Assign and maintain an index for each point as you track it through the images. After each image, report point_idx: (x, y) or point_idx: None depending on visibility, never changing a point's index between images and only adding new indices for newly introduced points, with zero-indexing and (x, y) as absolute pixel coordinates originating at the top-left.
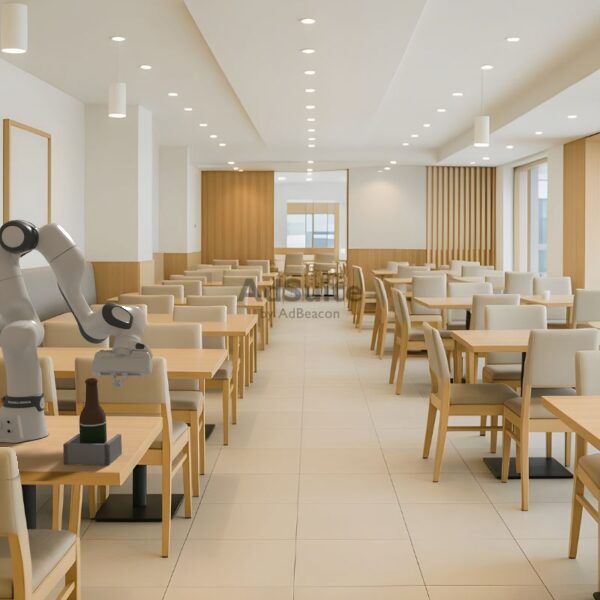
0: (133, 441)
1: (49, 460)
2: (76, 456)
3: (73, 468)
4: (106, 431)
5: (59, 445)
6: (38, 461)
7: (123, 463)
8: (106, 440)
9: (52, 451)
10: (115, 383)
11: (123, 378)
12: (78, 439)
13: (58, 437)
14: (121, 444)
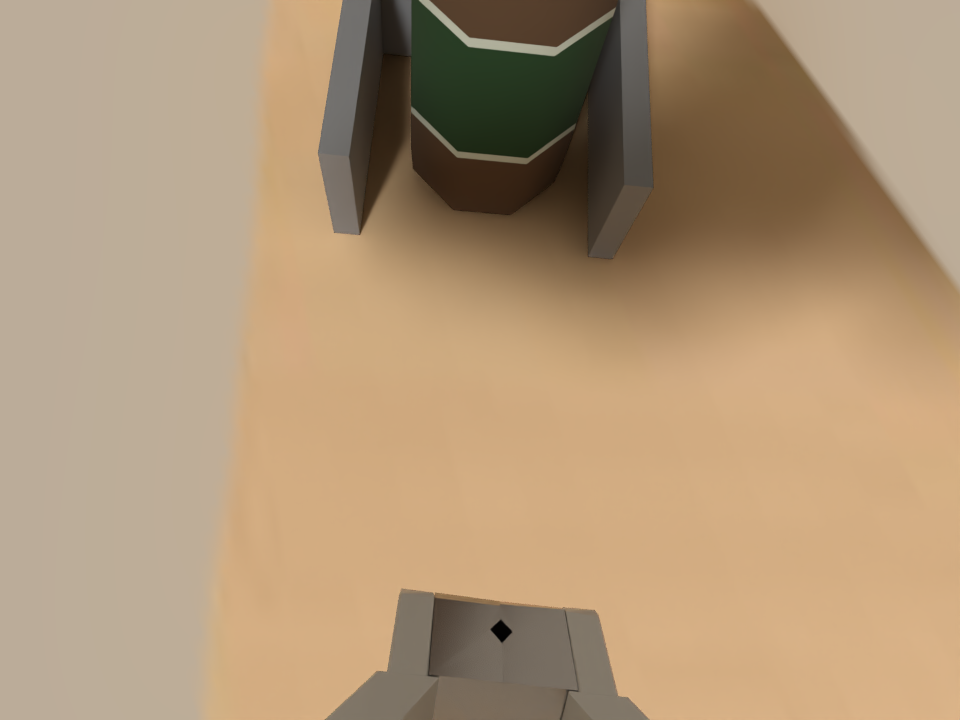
0: (305, 555)
1: (720, 136)
2: None
3: None
4: (411, 54)
5: (823, 451)
6: (770, 124)
7: (287, 56)
8: (411, 95)
9: (794, 308)
10: (525, 613)
11: (338, 707)
12: (616, 132)
13: (953, 699)
14: (327, 196)
